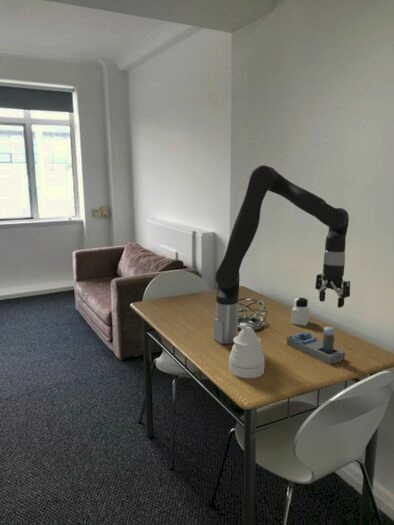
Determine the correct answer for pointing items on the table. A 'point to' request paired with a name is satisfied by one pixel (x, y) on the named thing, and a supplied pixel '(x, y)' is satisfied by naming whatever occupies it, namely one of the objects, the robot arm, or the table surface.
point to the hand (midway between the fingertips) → (331, 304)
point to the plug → (328, 340)
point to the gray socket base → (314, 347)
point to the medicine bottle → (300, 312)
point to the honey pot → (246, 354)
